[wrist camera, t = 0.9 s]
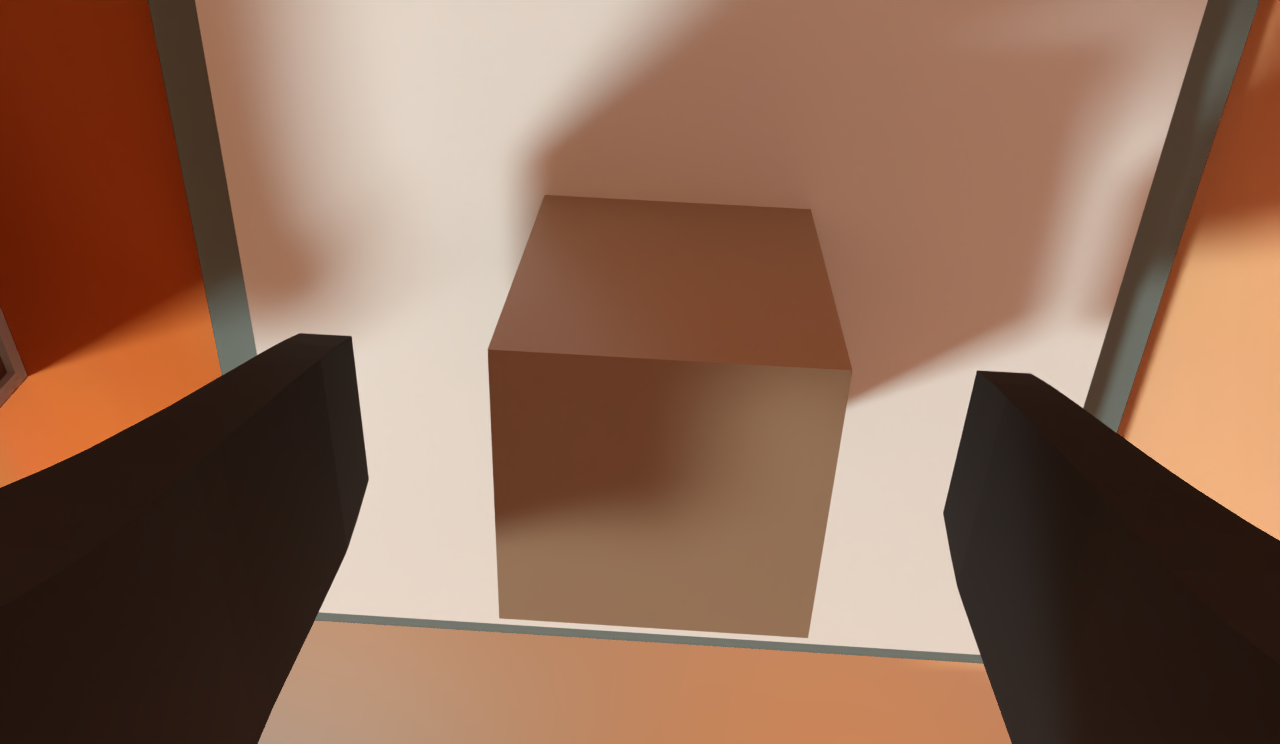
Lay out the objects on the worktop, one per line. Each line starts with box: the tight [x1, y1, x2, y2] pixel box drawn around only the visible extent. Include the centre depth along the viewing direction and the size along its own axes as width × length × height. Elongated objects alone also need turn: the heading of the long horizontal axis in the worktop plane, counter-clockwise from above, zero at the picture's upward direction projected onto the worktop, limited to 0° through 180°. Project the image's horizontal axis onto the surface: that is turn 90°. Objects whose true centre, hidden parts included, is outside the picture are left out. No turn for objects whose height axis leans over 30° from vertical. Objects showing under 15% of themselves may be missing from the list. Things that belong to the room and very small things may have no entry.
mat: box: [148, 0, 1260, 664], centre depth 15 cm, size 14×14×1 cm
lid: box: [195, 0, 1208, 655], centre depth 13 cm, size 12×12×5 cm
